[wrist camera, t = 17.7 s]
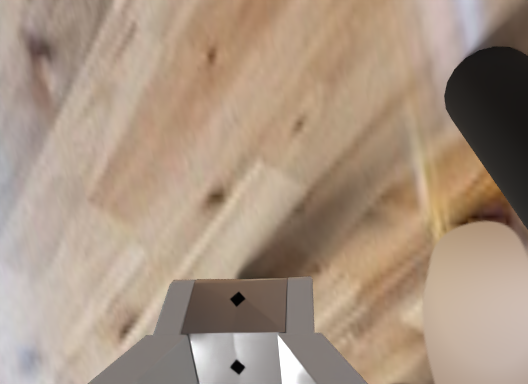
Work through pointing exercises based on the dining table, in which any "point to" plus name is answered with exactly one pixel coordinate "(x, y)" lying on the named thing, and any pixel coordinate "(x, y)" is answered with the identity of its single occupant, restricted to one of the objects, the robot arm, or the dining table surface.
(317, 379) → the robot arm
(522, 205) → the wine bottle
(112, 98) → the dining table surface
